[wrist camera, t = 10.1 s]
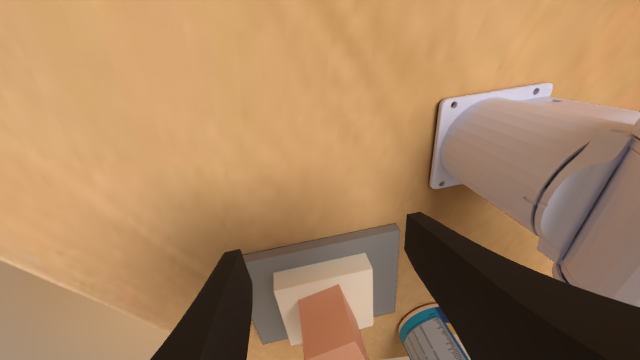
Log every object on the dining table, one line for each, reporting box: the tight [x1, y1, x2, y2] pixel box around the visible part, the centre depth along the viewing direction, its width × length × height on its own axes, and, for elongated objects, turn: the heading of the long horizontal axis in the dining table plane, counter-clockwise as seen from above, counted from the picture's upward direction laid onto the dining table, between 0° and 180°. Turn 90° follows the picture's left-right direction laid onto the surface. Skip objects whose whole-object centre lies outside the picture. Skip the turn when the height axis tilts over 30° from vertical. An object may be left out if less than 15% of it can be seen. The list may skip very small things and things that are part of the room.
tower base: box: [242, 223, 400, 346], centre depth 25 cm, size 16×13×3 cm
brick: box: [298, 284, 369, 360], centre depth 21 cm, size 4×6×5 cm, turn 20°
